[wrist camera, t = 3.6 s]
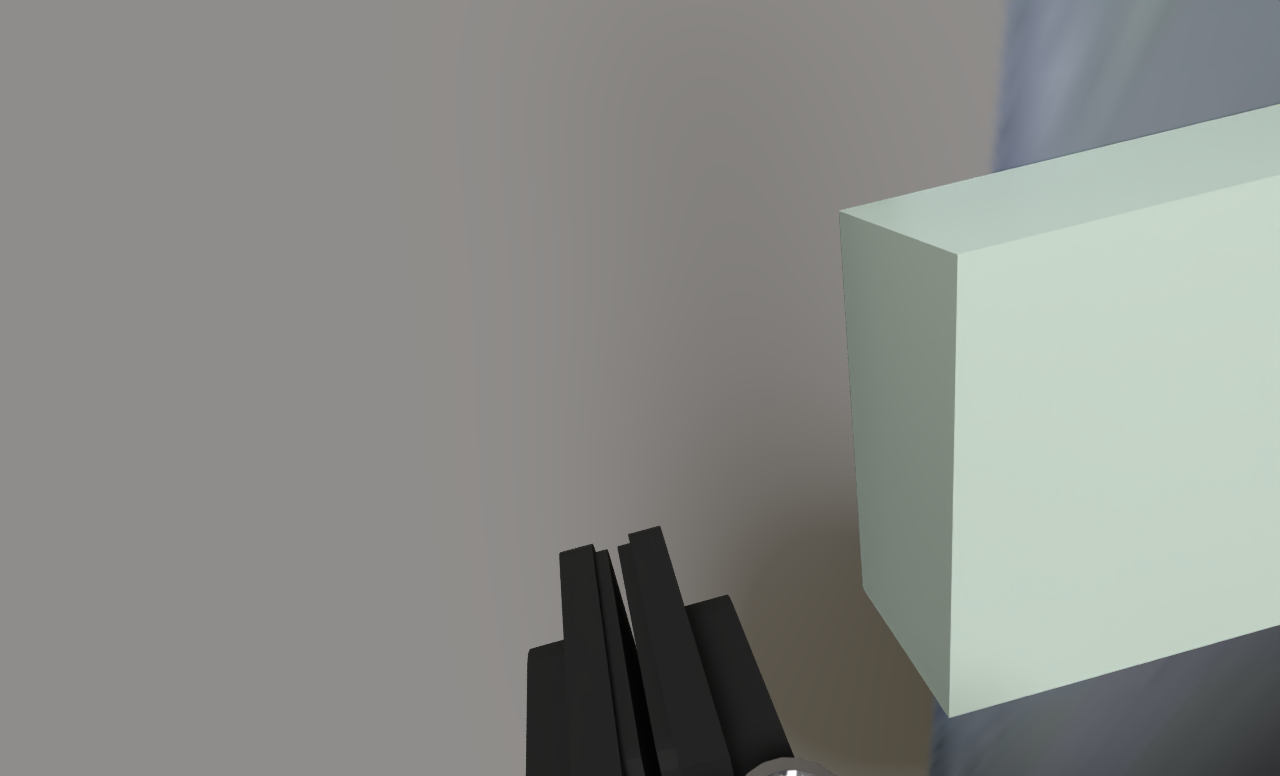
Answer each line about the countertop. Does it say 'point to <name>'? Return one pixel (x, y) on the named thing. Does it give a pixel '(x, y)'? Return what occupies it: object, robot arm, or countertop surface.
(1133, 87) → the countertop surface
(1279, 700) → the countertop surface
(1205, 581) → the mint green block
